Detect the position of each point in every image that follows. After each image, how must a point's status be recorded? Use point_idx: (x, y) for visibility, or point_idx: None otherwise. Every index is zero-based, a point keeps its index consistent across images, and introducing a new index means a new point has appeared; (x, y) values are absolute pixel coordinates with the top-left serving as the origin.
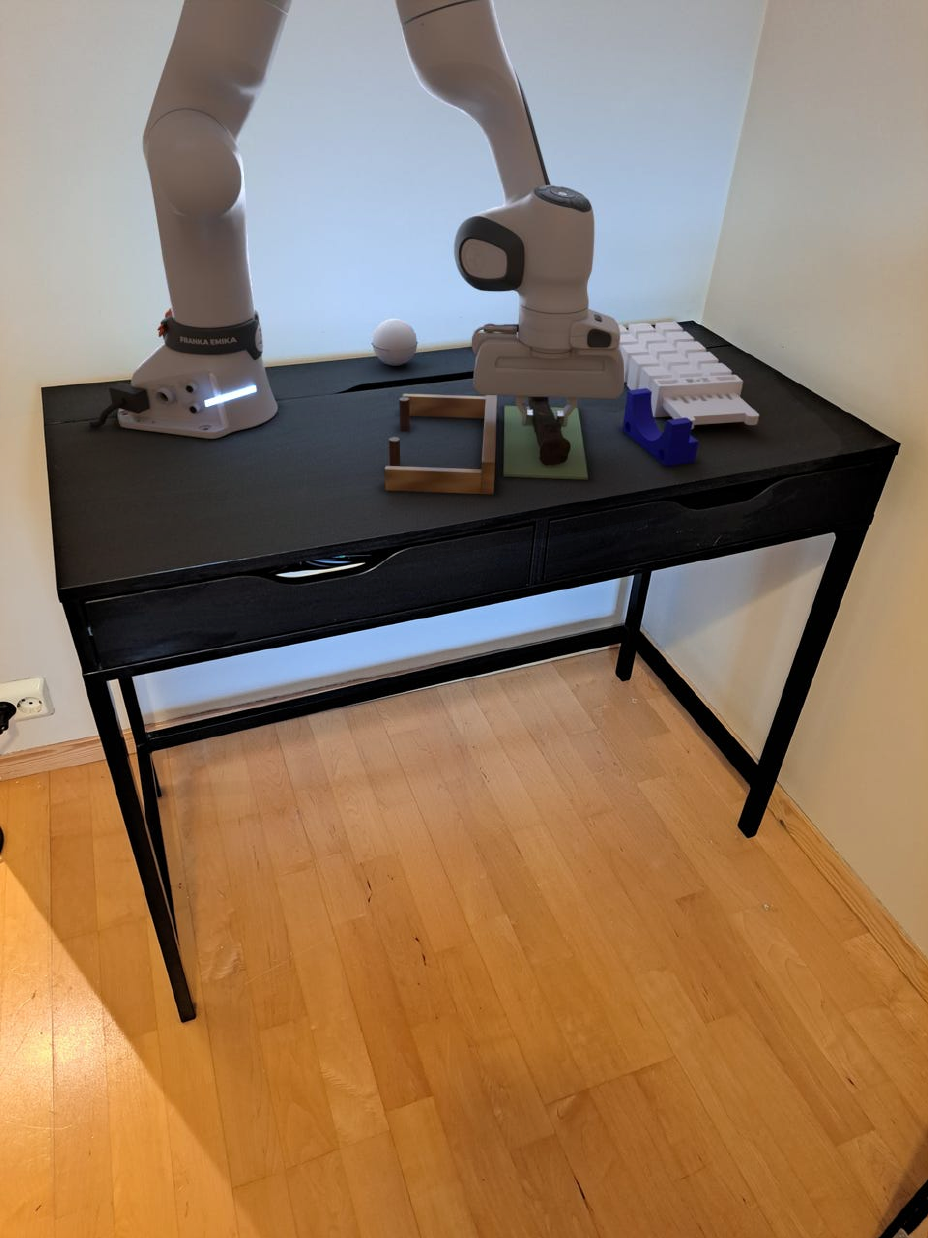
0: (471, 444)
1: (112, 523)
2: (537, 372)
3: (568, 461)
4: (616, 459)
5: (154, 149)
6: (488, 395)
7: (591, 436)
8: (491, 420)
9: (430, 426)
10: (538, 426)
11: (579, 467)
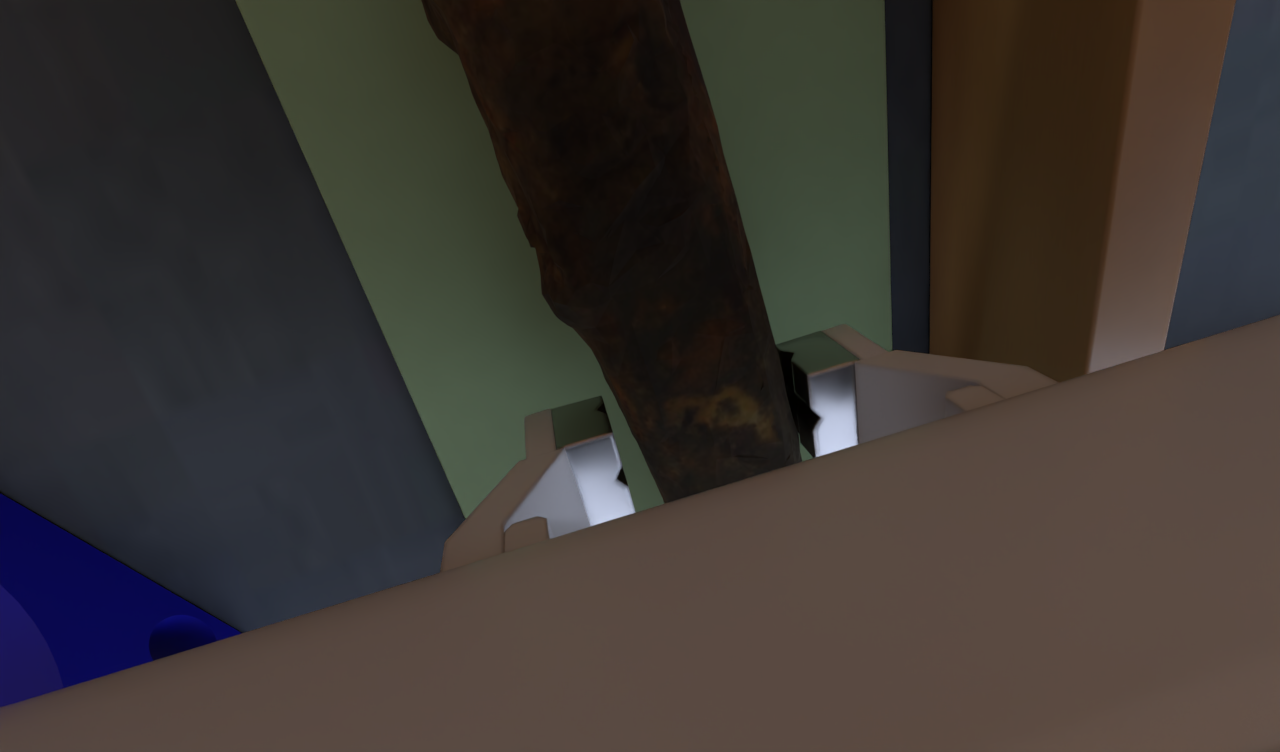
0: None
1: None
2: (1221, 672)
3: (408, 49)
4: (90, 258)
5: None
6: None
7: (399, 509)
8: (1162, 101)
9: (1235, 307)
10: (736, 213)
11: None
